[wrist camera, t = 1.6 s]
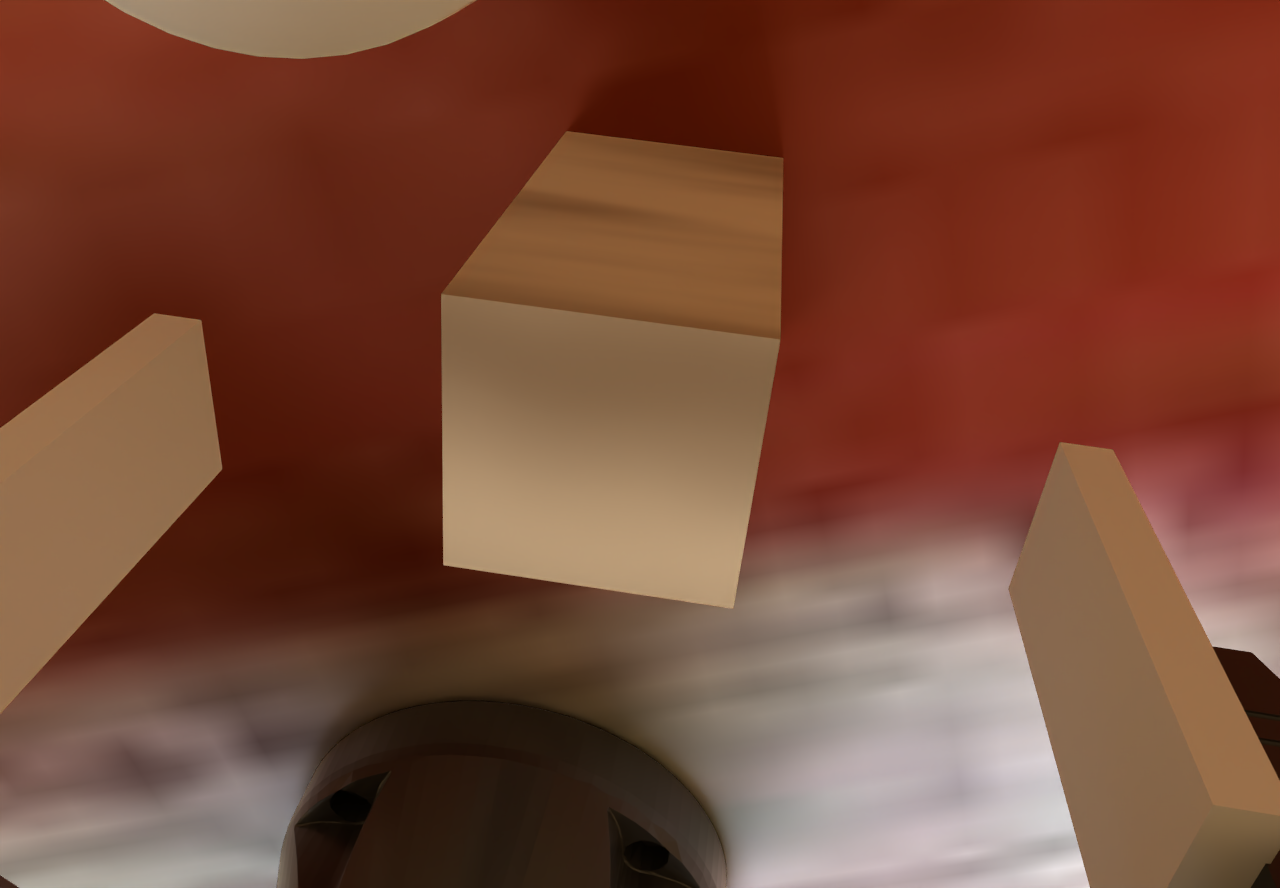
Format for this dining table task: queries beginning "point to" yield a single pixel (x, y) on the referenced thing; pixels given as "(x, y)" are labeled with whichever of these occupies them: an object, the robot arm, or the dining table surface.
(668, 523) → the peg
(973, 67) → the dining table surface
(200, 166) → the dining table surface
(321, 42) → the door knob
